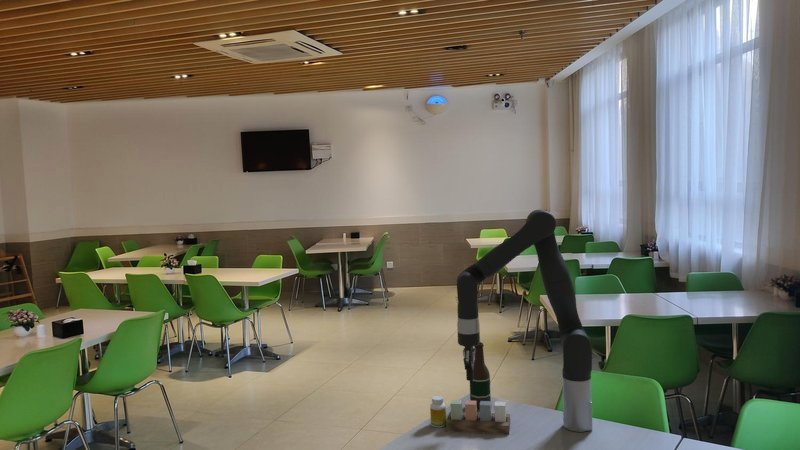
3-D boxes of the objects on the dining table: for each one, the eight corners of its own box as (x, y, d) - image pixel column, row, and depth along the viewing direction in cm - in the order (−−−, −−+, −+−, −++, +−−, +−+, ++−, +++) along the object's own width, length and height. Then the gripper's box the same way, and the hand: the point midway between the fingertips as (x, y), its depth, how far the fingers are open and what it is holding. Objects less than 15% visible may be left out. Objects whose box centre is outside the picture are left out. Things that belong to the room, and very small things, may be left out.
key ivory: (506, 418, 210) (505, 401, 210) (505, 423, 207) (505, 405, 206) (495, 418, 211) (495, 401, 210) (494, 422, 207) (494, 405, 207)
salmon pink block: (477, 417, 212) (476, 400, 212) (476, 421, 209) (475, 404, 208) (466, 417, 213) (466, 400, 212) (465, 421, 209) (464, 404, 209)
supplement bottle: (446, 427, 211) (445, 400, 210) (431, 428, 211) (430, 401, 210) (445, 421, 216) (444, 394, 215) (430, 421, 216) (429, 395, 215)
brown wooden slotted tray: (510, 422, 213) (510, 413, 213) (509, 434, 203) (508, 425, 203) (450, 419, 218) (450, 411, 217) (446, 431, 208) (446, 422, 208)
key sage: (462, 416, 213) (462, 400, 213) (461, 421, 210) (460, 404, 209) (452, 416, 214) (451, 399, 214) (451, 420, 211) (450, 403, 210)
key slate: (491, 418, 211) (491, 401, 211) (490, 422, 208) (490, 405, 207) (481, 417, 212) (480, 400, 211) (480, 421, 208) (479, 404, 208)
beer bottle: (467, 408, 227) (465, 345, 225) (472, 400, 234) (470, 339, 232) (488, 410, 224) (486, 346, 222) (492, 402, 231) (491, 340, 229)
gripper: (477, 335, 201) (479, 387, 202) (481, 325, 214) (482, 373, 215) (455, 335, 202) (456, 386, 204) (459, 325, 215) (461, 373, 217)
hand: (469, 379), depth 210 cm, fingers closed
